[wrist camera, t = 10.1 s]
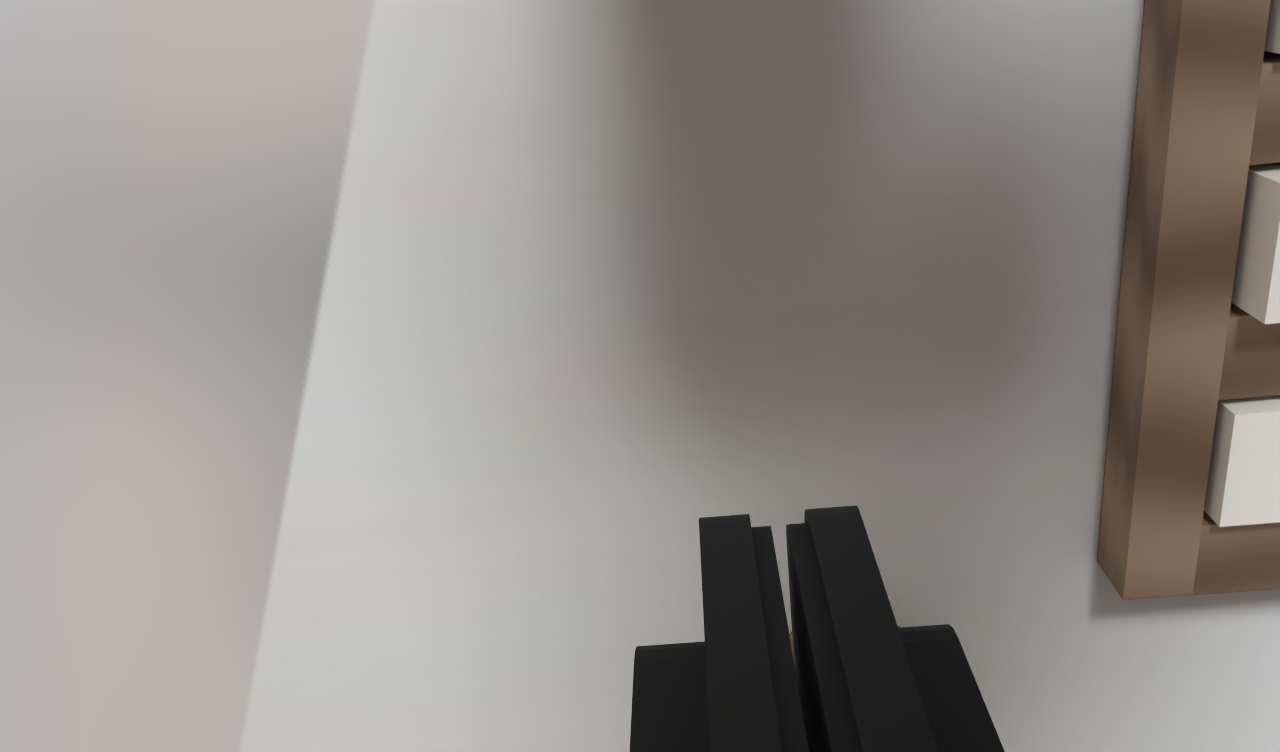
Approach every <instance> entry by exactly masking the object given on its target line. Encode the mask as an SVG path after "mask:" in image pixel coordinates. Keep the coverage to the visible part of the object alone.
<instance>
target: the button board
mask: <svg viewBox="0 0 1280 752" xmlns="http://www.w3.org/2000/svg"><path fill="white" fill-rule="evenodd" d="M1270 3H1271V0H1145V4H1144V15H1143V27H1142V39H1141V51H1140V63H1139V74H1138V86H1137V98H1136V110H1135V122H1134V133H1133V145H1132V157H1131V169H1130V181H1129V192H1128V204H1127V216H1126V228H1125V240H1124V251H1123V263H1122V275H1121V287H1120V299H1119V310H1118V322H1117V334H1116V346H1115V358H1114V369H1113V381H1112V393H1111V405H1110V416H1109V428H1108V440H1107V452H1106V464H1105V475H1104V487H1103V499H1102V511H1101V523H1100V534H1099V546H1098V558H1097V562H1098V564H1099V565H1100V566H1101V568H1102V569H1103V571H1104V572H1105V574H1106V575H1107V577H1108V578H1109V580H1110V581H1111V583H1112V584H1113V586H1114V587H1115V589H1116V590H1117V591H1118V593H1119V594H1120V596H1121V597H1122V599H1123V600H1130V599H1144V598H1158V597H1171V596H1185V595H1199V594H1213V593H1227V592H1241V591H1255V590H1269V589H1280V522H1278V523H1265V524H1252V525H1239V526H1226V527H1219V526H1218V525H1217V524H1216V523H1215V522H1214V521H1213V519H1212V518H1211V517H1210V516H1209V515H1208V514H1207V513H1206V512H1205V511H1204V504H1205V497H1206V489H1207V482H1208V474H1209V466H1210V459H1211V451H1212V444H1213V436H1214V428H1215V421H1216V413H1217V406H1218V400H1226V399H1238V398H1250V397H1262V396H1274V395H1280V323H1274V324H1263V323H1262V322H1260V321H1259V320H1257V319H1256V318H1254V317H1253V316H1251V315H1250V314H1248V313H1247V312H1245V311H1244V310H1242V309H1241V308H1239V307H1238V306H1236V305H1234V304H1233V303H1231V299H1232V292H1233V284H1234V276H1235V269H1236V261H1237V254H1238V246H1239V238H1240V231H1241V223H1242V216H1243V208H1244V200H1245V193H1246V185H1247V178H1248V170H1249V165H1258V164H1268V163H1278V162H1280V54H1278V53H1273V52H1268V51H1264V49H1265V41H1266V33H1267V26H1268V18H1269V11H1270Z"/></svg>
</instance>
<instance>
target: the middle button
mask: <svg viewBox="0 0 1280 752" xmlns="http://www.w3.org/2000/svg"><path fill="white" fill-rule="evenodd" d="M1231 303H1233V304H1234V305H1236V306H1238V307H1239V308H1241V309H1242V310H1244V311H1245V312H1247V313H1248V314H1250V315H1251V316H1253V317H1254V318H1256V319H1257V320H1259V321H1260V322H1262V323H1263V324H1274V323H1280V163H1278V164H1268V165H1258V166H1249V170H1248V178H1247V185H1246V193H1245V200H1244V208H1243V216H1242V223H1241V231H1240V238H1239V246H1238V254H1237V261H1236V269H1235V276H1234V284H1233V292H1232V299H1231Z"/></svg>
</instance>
